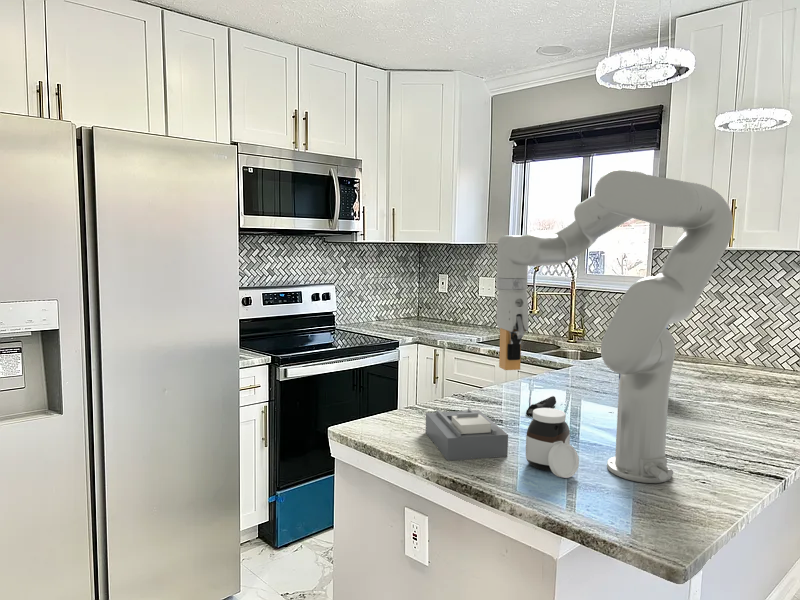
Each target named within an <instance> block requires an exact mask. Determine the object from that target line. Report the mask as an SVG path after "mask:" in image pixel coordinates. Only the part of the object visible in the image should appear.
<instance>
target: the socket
mask: <svg viewBox="0 0 800 600" xmlns="http://www.w3.org/2000/svg"><path fill="white" fill-rule="evenodd" d="M473 412H478V415H481V416H483V417H484V418H485V419H486V420H487V421H488V422H490V423H491V432H489V433H472V434H461V432H460V431H459V430H458V429H457V428H456V427H455V426H454V425H453V424H452V416H457V413H473ZM425 434H426V435H427V436H428V438H429V437H430V438H429V439H430V440H431V442H432V443H433V442H434V443H433V444H434V445H435V447H436V446H437V447H438V448H437V447H436V448H437V449H438V451H439V452H440V453H441V454H442V456H443V455H444V456H443V457H444V458H445V460H446V459H447V460H449V461H459V460H462V459H463V460H476V458H478V459H489V458H490V459H491V458H492V459H493V458H503V457H504V458H505V457H508V450H509V449H508V448H509V434H508V432H505V430H503V429H502V428H501V427H499V426H498V425H497V424H496V423H495V422H494V421H493V420H491V419H490V418H489V417H488V416H487V415H485V413H483V412H482V411H480V410H477V409H475V410H472V408H467V410H461V411H460V410H457V411H441V410H440V409H436V412H426V413H425ZM447 460H446V461H447Z"/></svg>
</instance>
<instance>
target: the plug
mask: <svg viewBox="0 0 800 600" xmlns="http://www.w3.org/2000/svg"><path fill="white" fill-rule="evenodd" d="M513 331H517V329H514V330H513ZM513 336H514V334H513ZM508 344H509V331H507V330H504V329H502V328H500V330H499V353H498V354H499V357H498V359H499V360H498V361H499V362H498V367H499V368H501V369H503V370H504V371H519V370H521V361H522V360H521V359H522V357H521V356H522V355H521V354H522V353H521V351H522V347H521V348H520V360H508V359H507V351H508Z"/></svg>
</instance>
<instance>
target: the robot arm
mask: <svg viewBox="0 0 800 600" xmlns="http://www.w3.org/2000/svg"><path fill="white" fill-rule="evenodd" d="M573 215H574V221H573V222H572V223H571V224H569V225H567V226H566V227H564V228H563V229H561V230H559V231H558V232H555V233H554V234H549V233H548V234H547V233H540V234H539V233H531V234H524V235H501V236H500V237H499V238H498V239H497V250H496V251H497V252H496V253H497V254H496V256H497V257H496V290H495V291H497V292H498V293H497V301H496V302H497V303H496V326H497V328H498V330H499V331H500V328H502V329H504V330H507V331H509V344H508V351H507V359H508V360H520V348H521V349H522V339H523V338H524V336H525V332H526V333H527V332H528V330H529V302H528V293H527V292H528V276H529V275H528V273H529V272H528V270H529V268H528V267H542V266H545V267H547V266H558V265H561V264H564V263H565V262H568V261H570V260H571V259H573V258H574V257H576V256H578V255H580V254H582V253H584V252H585V251H587V250H588V249H589V248H590V247H591V246H593V244H594V243H596V241H597V240H598V238H599V237H601V236H604V235H605V234H607V233H609V232H610V231H612V230H614V229H616V228H618V227H619V226H621V225H623V224H625V223H627V222H628V221H631V219H635V220H639V221H642V222H647V223H650V224H653V225H658V226H662V227H668V228H678V229H679V228H682V229H683V232H682V234H681V236H680V238H678V240H677V242H676V243H675V244H674V245H673V246H672V248H671V249H670V250H669V253H668V254H667V257H666V259H665V261H664V263H663V264H662V267H660V270H659V271H658V272H657V274H656V275H655V276H653V275H651V276H646V277H644V278H641V279H639V280H637V281H635V282H634V283H633V284H631V286H630V287H629V288H627V291H625V293H624V295H623V297H622V299H621V300H620V301H619V303H618V306H617V307H616V310H615V312H614V314H613V316H612V318H611V321H610V322H609V323H608V326H607V328H606V330H605V331H604V332H605V333H604V334H603V337H602V340H601V343H600V355H601V358H602V361H603V363H604V365H605V366H606V367H607V368H608V369H609V370H611V371H612V372H614V373H616V374H618V375H619V374H621V378H620V384H619V383H618V387H619V388H618V397H617V398H618V400H617V417H616V435H615V439H616V440H615V454H614V455H615V456H612V457H610V458H609V459H608V460H607V461H606V462H607V463H606V467H607V470H608V471H609V472H611V473H612V474H613V475H615V476H617V477H620V478H622V479H625V480H627V481H628V480H629V481H631V482H636V483H645V484H659V483H664V482H668V481H670V480H671V479H672V476H673V475H674V471H673V469H671V468H670V466H668V458H667V457H666V443H667V442H666V441H667V428H668V427H667V425H668V424H667V423H668V409H669V397H670V383H671V375H672V370H673V367H674V362H675V356H676V343H675V339H674V337H673V334H672V333H671V332H670V331H669V328H668V329H666V328H665V327H666V325H668V324H669V325H672V324H675V323H680V322H682V321H684V320H686V319H687V318H688V317H689V316H690V315H691V313H692V312H693V310H694V309H695V306H696V304H697V303H698V301H699V299H700V297H701V295H702V294H703V292H704V290H705V288H706V287H707V285H708V283H709V281H710V279H711V277H712V276H713V272H714V271H715V269H716V268H717V266H718V264H719V262H720V260H721V258H722V257H723V255H724V253H725V251H726V249H727V247H728V245H729V244H730V241H731V237H732V234H733V230H734V219H733V212H732V211H731V209H730V206H729V204H728V203H727V201H726V200H725V198H724V197H723V196H722V195H721V194H720V193H719V192H718V191H716V190H715V189H714V188H711V187H709V186H707V185H704V184H700V183H697V182H696V183H695V182H688V181H684V180H678V179H674V178H667V177H662V176H657V175H651V174H646V173H645V172H641V171H636V170H631V169H625V168H616V169H612V170H609V171H607V172H606V173H604V174H603V175H602V176H601V177H600V178H599V180H597V183H596V185H595V188H594V194H593V195H591V196H589V197H587V198H586V199H585V200H583V201H581V202H579V203H578V204H577V205H576V207H574V213H573ZM514 329H517V331H513V330H514ZM513 334H514V336H513Z"/></svg>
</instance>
